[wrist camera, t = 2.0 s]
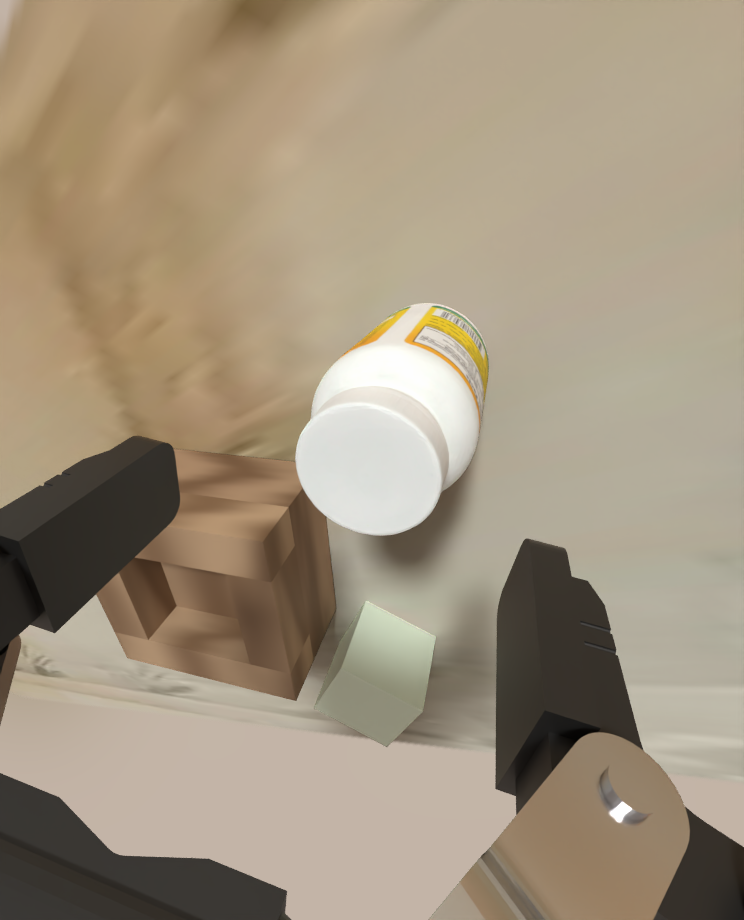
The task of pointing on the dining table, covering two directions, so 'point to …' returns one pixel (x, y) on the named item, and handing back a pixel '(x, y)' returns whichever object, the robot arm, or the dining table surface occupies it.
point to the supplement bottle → (395, 421)
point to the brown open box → (230, 578)
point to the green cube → (378, 675)
